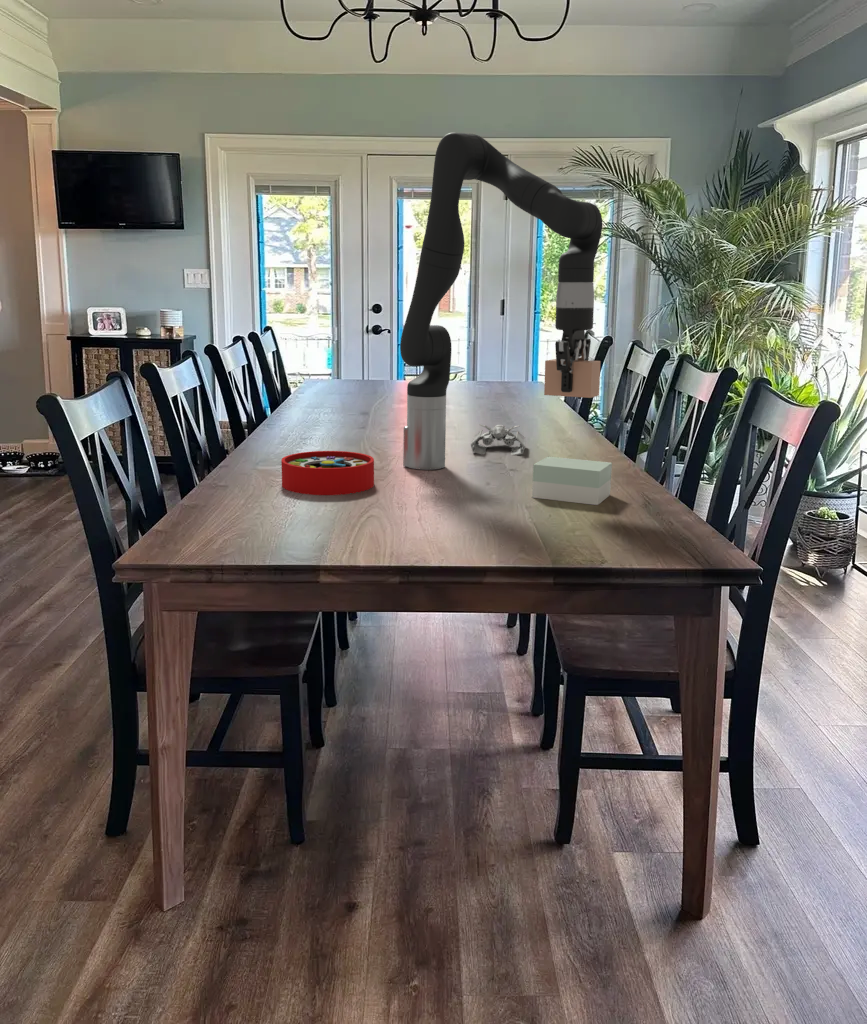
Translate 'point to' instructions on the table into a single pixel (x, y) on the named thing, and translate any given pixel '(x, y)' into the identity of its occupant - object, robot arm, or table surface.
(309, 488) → the toy clock
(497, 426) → the spaceship toy
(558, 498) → the green and white block
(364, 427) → the table surface
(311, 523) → the table surface
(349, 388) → the table surface
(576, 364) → the terracotta brick
